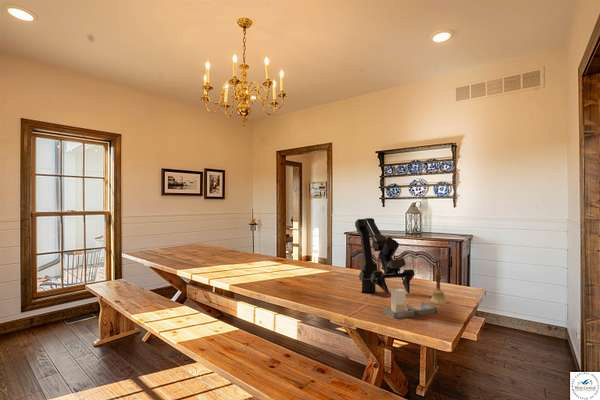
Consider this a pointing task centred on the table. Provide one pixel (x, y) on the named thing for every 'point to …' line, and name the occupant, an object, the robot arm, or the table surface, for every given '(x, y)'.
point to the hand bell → (438, 290)
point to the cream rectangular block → (398, 300)
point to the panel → (412, 311)
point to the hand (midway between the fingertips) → (398, 293)
